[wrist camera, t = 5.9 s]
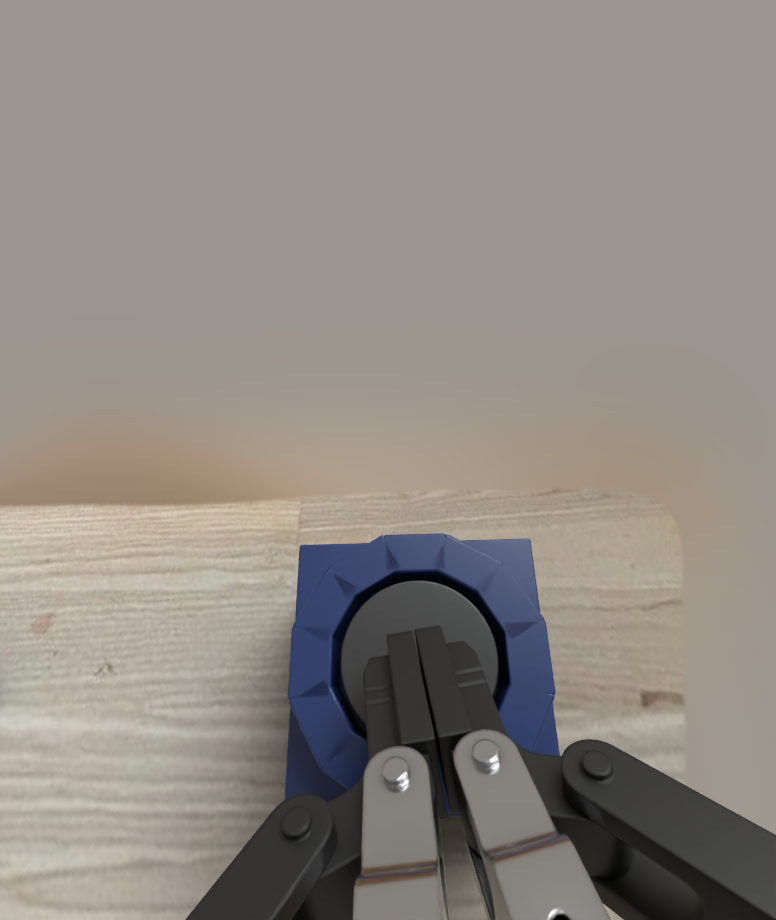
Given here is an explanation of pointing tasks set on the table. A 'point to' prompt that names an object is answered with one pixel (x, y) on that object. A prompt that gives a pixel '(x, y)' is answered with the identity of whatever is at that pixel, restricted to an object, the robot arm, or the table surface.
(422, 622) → the grey push button
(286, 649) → the table surface
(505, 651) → the near button housing
